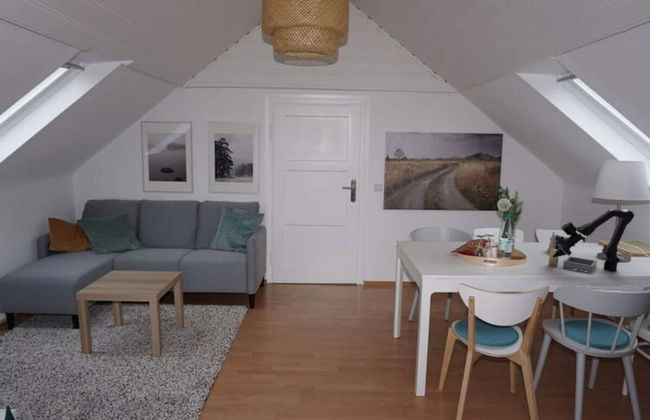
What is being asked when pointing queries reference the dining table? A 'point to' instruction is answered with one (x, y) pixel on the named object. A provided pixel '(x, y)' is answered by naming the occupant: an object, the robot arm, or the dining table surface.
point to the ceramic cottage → (552, 243)
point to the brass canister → (553, 261)
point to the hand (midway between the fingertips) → (551, 255)
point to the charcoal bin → (580, 264)
